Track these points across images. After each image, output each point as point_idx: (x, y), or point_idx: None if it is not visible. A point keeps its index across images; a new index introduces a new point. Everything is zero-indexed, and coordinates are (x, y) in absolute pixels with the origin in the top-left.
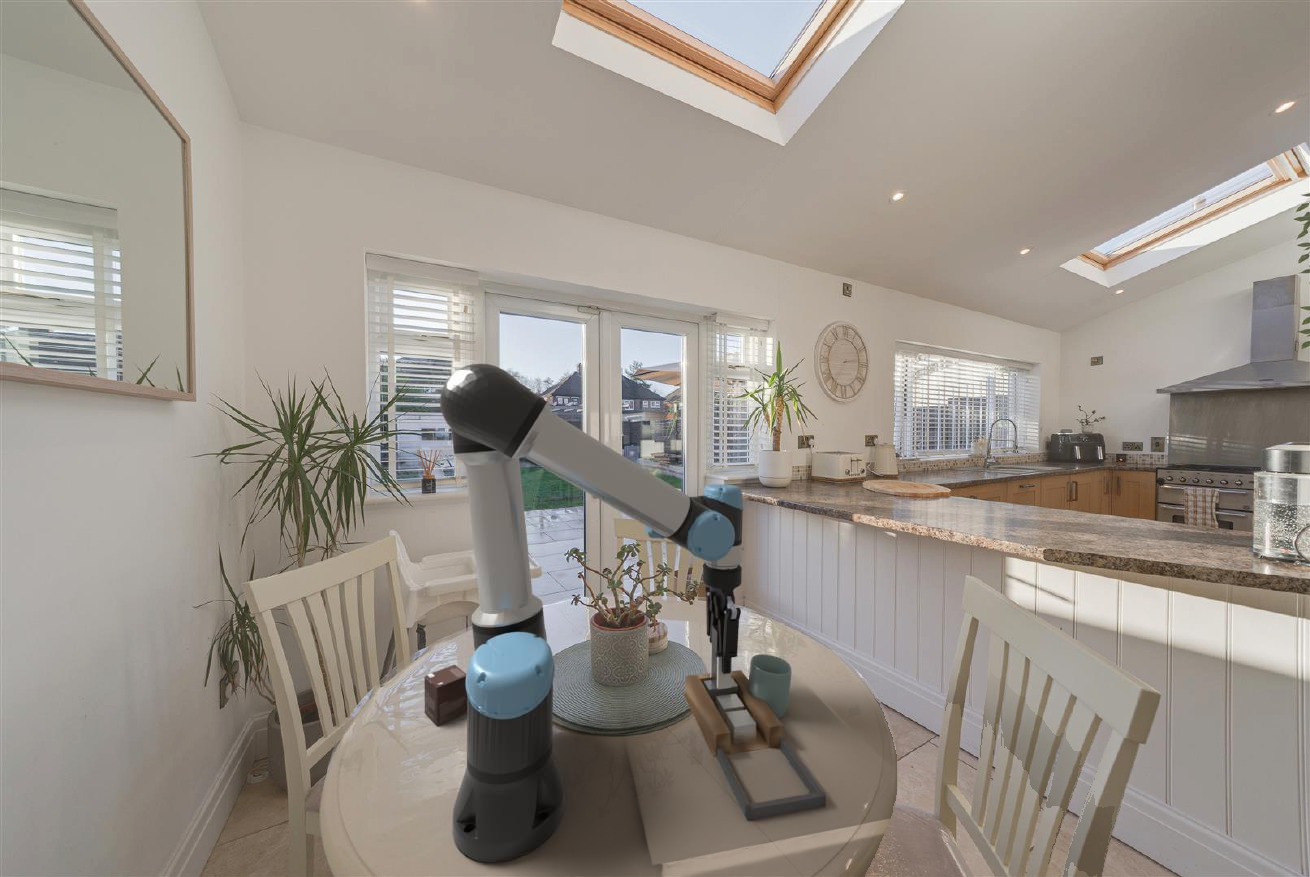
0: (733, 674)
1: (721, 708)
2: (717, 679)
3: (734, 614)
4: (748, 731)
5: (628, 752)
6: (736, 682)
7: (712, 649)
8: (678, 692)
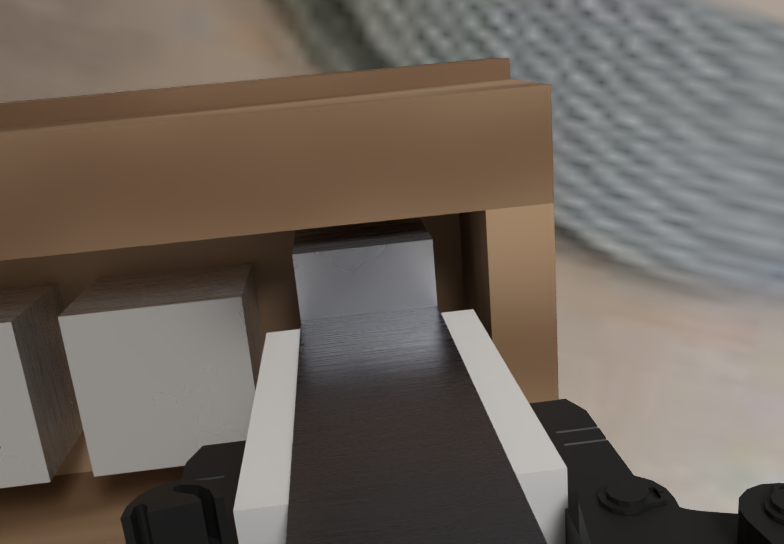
0: None
1: (117, 302)
2: (281, 362)
3: None
4: None
5: None
6: None
7: (471, 461)
8: (605, 42)
